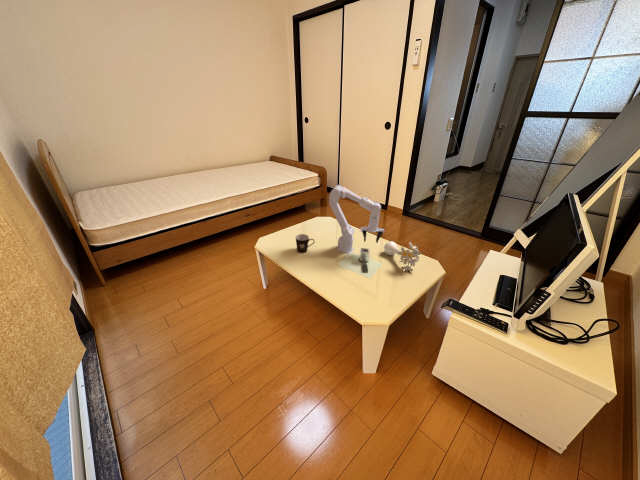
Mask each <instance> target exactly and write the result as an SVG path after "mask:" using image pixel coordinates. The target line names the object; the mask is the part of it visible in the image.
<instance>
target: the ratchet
mask: <svg viewBox="0 0 640 480" xmlns="http://www.w3.org/2000/svg"><path fill="white" fill-rule="evenodd" d="M359 261H360V257H359ZM368 261H369V260H368ZM368 261H360V262H361V263H362V269H363V272H366V273H368V267H367V263H368Z"/></svg>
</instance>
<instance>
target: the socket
mask: <svg viewBox="0 0 640 480" xmlns="http://www.w3.org/2000/svg"><path fill="white" fill-rule="evenodd" d="M359 255H360V261H368V260H369V259H370V248H366V247H365V248H363V247H362V248H360V251H359Z"/></svg>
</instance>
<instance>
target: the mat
mask: <svg viewBox="0 0 640 480" xmlns="http://www.w3.org/2000/svg"><path fill="white" fill-rule="evenodd" d="M359 257H360V254H357V253H354V252H353V251H352V252H351V253H350V254H347V255H346V256H345V257H344V258H343V259H342V260H340V262H338V263H337V266H339V267H341V268H344V269H346V270H349V271H351V272H354V273H357V274H358V275H361V276H364V277H367V278H369V279H372V277H373V276H374V275H375V274H376V272H377V271H378V270H380V267H382V265H383V263H381V262H379V261H376V260H373V259H371V258H369V261H368V263H367V267H368V273H366V272H363V269H362V263H361V262H360V261H359Z"/></svg>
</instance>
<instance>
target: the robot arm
mask: <svg viewBox="0 0 640 480" xmlns="http://www.w3.org/2000/svg"><path fill="white" fill-rule="evenodd" d="M340 198H341V199H345V198H347V199H349V200H352V201H354V202H356V203H358V204H359V206H360V207H362V208H364V209H366V210H367V211H370V214H369V220H368V226H365V227H360V232H361V233H362V235H363V242H364V243H365V242H366V239H367V232H370V233H376V239H375V243H376V244H378V242H379V240H380V238H381V237H382V236H383V234H384V233H385V229H384V228H380V227H379V221H380V215H381V209H382V205H381V203H379V202H378V201H372V200H371V199H369V197H367V196H363V197H361V196H360V195H358V194H356V193H355V192H353V191H351V190H350V189H348V188H346V187H344V186H342V185H341V184H336V185H335V186H334V187H333V188H332V189H331V191H330V193H329V198H328V205H329V206H330V208H331V210H332V212H333V214H334V217H335V219H336V220H337V223H338V225H339V227H340V231H341V235H340V236H339V237H338V240H337V249H336V250H337V251H339V252H342V253H345V254H347V255H349V254H350V253H351V252H352V253H353V251H354V250H355V248H353V245H354V236H353V235H354V233H355V229H354V228H353V227H352V226H351V225H350V223H348V221H347V219H346V217H345V214H344V212H343V210H342V209H341V206H340V203H339V199H340Z"/></svg>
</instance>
